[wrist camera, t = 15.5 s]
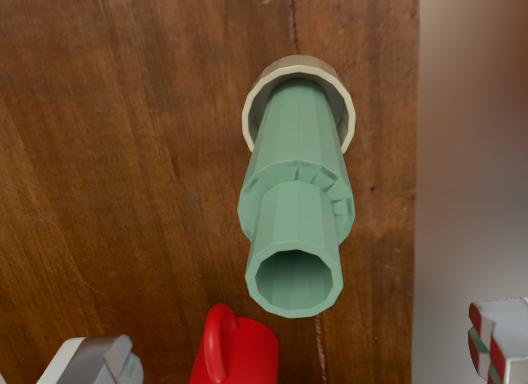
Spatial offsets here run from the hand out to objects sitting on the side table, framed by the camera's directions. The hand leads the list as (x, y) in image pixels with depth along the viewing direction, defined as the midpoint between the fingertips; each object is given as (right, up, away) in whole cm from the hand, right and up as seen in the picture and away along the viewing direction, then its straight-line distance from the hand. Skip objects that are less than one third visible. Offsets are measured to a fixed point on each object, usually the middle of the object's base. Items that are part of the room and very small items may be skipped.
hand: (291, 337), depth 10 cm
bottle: (+2, +9, +19) cm, 21 cm away
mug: (-4, -10, +30) cm, 32 cm away
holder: (+2, +10, +20) cm, 22 cm away
